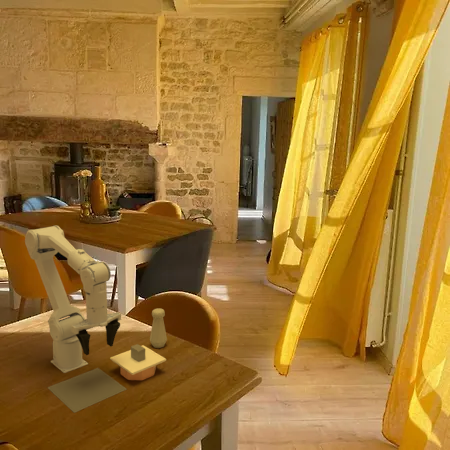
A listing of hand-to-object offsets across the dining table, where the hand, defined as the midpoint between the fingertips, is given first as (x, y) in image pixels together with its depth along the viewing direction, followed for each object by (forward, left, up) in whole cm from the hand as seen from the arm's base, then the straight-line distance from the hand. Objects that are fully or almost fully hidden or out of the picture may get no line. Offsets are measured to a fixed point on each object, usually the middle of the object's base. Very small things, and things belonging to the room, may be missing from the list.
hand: (98, 349), depth 132 cm
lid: (+4, +11, -6) cm, 13 cm away
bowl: (+4, +11, -10) cm, 15 cm away
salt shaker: (-6, +26, -10) cm, 29 cm away
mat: (+2, -5, -10) cm, 11 cm away
